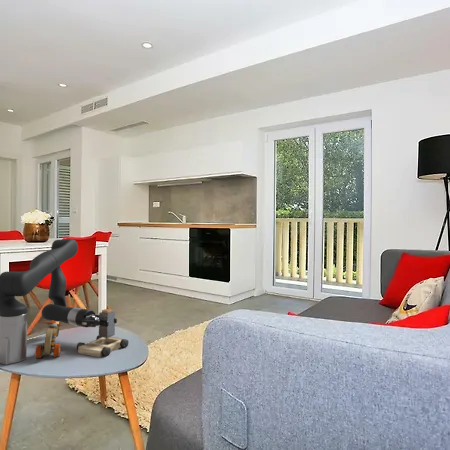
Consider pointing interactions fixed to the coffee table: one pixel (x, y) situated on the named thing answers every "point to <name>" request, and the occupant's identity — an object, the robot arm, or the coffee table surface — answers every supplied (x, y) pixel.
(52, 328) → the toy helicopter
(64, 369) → the coffee table surface
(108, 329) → the block
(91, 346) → the chassis
